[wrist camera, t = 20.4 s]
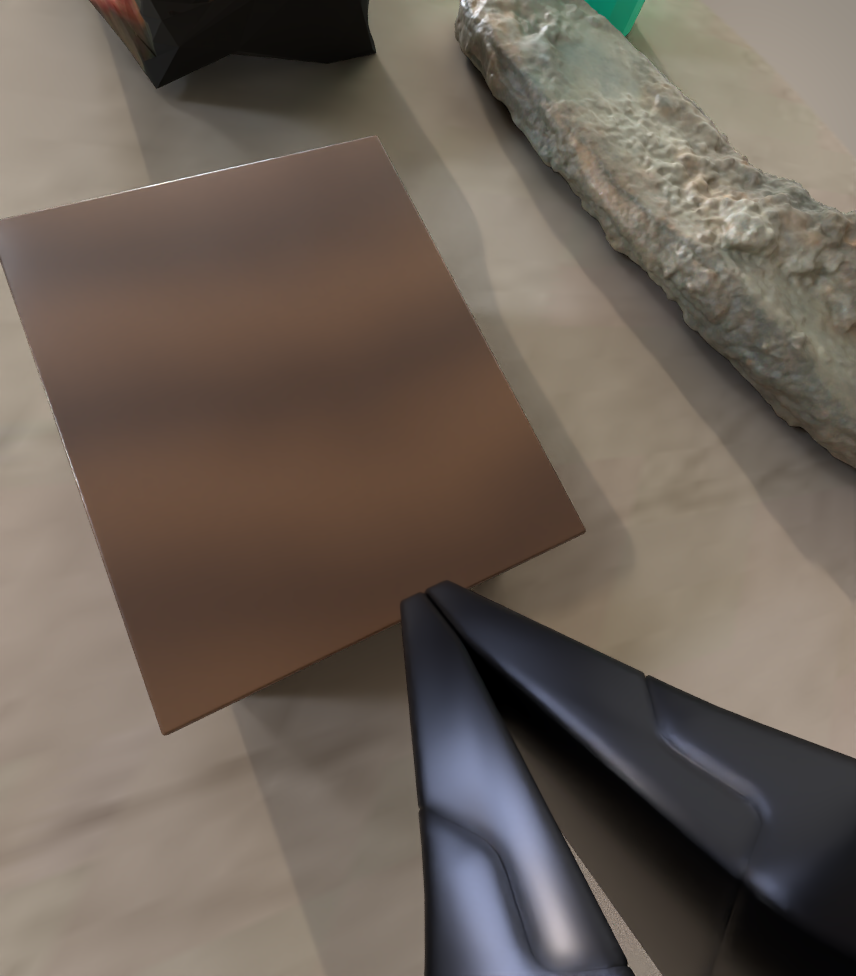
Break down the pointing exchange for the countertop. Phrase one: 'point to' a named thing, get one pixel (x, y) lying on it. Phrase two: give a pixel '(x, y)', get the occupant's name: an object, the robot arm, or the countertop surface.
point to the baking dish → (236, 31)
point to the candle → (618, 12)
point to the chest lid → (274, 414)
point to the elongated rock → (684, 204)
